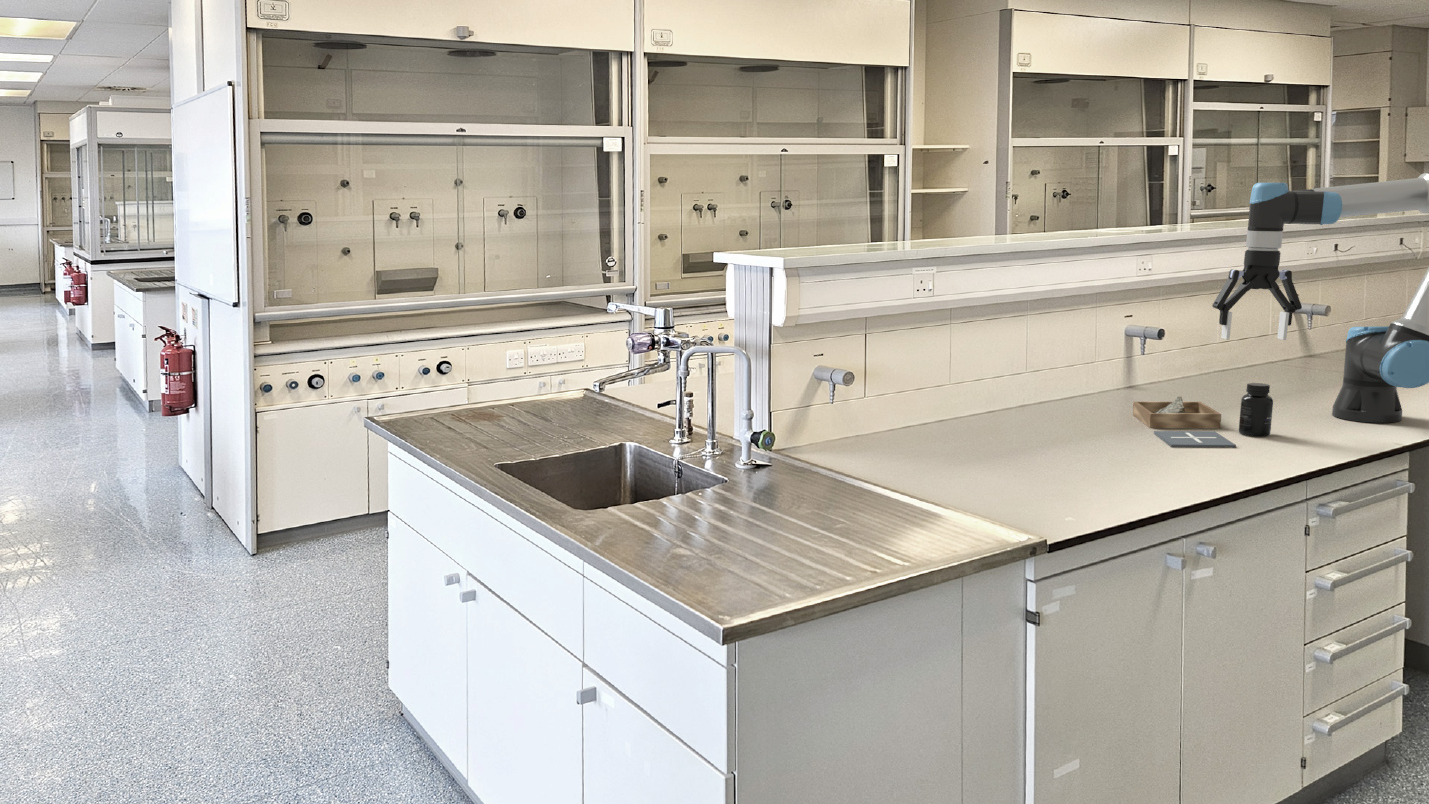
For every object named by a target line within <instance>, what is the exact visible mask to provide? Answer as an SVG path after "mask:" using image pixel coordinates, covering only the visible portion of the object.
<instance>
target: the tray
mask: <svg viewBox="0 0 1429 804" xmlns="http://www.w3.org/2000/svg"><path fill="white" fill-rule="evenodd" d="M1172 402H1173V401H1133V403H1132V416H1133V417H1135V418H1136V419H1137V420H1139V421H1140V423H1142V424H1144V425H1145V426H1147V427H1148V428H1149V429H1221V427H1222V426H1221V423H1222V422H1221V421H1222V414H1221V413H1220V412H1219V411H1216V409H1214V408H1212V407H1210V406H1209V405H1207V404H1205V403H1203V402H1202V401H1183V405H1184V408H1185V413H1156V412H1158V411H1159V410H1160V409H1162V408H1165V407H1167V406H1168V405H1169V404H1171V403H1172Z"/></svg>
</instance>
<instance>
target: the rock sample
mask: <svg viewBox="0 0 1429 804" xmlns="http://www.w3.org/2000/svg"><path fill="white" fill-rule="evenodd" d="M1171 402H1172V403H1171V404H1169V405H1168V406H1167V407H1165V408H1162V409H1160V410H1159V411H1158V412H1156V413H1185V408H1184V405H1183V402H1184V401H1183V397H1182V396H1181V395H1179V396H1177V397H1176V398H1175V399H1174V400H1173V401H1171Z"/></svg>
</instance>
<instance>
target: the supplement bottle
mask: <svg viewBox="0 0 1429 804" xmlns="http://www.w3.org/2000/svg"><path fill="white" fill-rule="evenodd" d="M1270 387H1271V385H1270V384H1269V383H1268V384H1267V383H1262V382H1249V383H1246V389H1245V391H1246V394H1244V395H1242V397H1241V399H1240V411H1239V420H1238V421H1239V423H1238V433H1239V434H1240V435H1243V436H1247V437H1257V438H1258V437H1260V438H1262V437H1263V438H1264V437H1268V436H1270V435H1271V433H1272V432H1271V430H1272V420H1273V409H1274V407H1273V406H1274V399H1273V397H1271V395H1269V394H1270V393H1271V392H1270Z"/></svg>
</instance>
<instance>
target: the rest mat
mask: <svg viewBox="0 0 1429 804" xmlns="http://www.w3.org/2000/svg"><path fill="white" fill-rule="evenodd" d="M1153 434H1154V435H1155V436H1156V437H1157V438H1159V439H1160V440H1162V442H1164V443H1165V444H1166V445H1168V446H1169V447H1170V448H1217V447H1223V448H1224V449H1225V447H1229V448H1230V447H1232V449H1234V448H1235V449H1236V448H1237V444H1236V443H1233V442H1232V441H1231V440H1229V439H1227V438H1226V437H1224V436H1223V435H1221V434H1220V433H1218V432H1217V431H1210V430H1209V431H1207V430H1206V431H1202V430H1199V431H1195V430H1194V431H1192V430H1191V431H1189V430H1186V431H1185V430H1184V431H1183V430H1176V431H1175V430H1168V431H1167V430H1160V431H1159V430H1154V431H1153ZM1223 448H1222V449H1223ZM1229 448H1228V449H1229Z"/></svg>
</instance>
